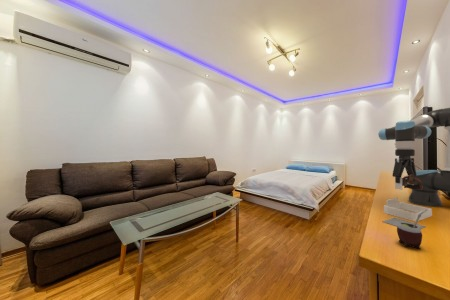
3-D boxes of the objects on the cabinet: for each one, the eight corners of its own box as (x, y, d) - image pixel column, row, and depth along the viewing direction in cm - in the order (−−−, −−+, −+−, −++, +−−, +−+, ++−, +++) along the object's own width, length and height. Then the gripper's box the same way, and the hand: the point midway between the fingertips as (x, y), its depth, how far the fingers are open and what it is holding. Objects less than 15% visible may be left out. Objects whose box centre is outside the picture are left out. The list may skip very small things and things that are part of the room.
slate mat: (394, 218, 96) (394, 217, 96) (425, 227, 85) (425, 226, 85) (382, 221, 92) (382, 221, 92) (413, 231, 81) (413, 231, 81)
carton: (399, 208, 111) (399, 197, 111) (432, 216, 98) (432, 203, 98) (383, 212, 104) (383, 200, 104) (416, 221, 91) (415, 207, 91)
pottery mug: (393, 191, 98) (397, 182, 102) (416, 200, 92) (420, 189, 95) (401, 177, 91) (404, 168, 94) (427, 185, 85) (430, 175, 88)
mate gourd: (393, 242, 72) (393, 206, 72) (402, 238, 75) (402, 204, 75) (419, 252, 65) (418, 212, 65) (428, 247, 68) (428, 209, 68)
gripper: (407, 149, 104) (406, 185, 104) (384, 148, 95) (383, 188, 95) (425, 149, 97) (424, 187, 97) (401, 148, 88) (401, 191, 88)
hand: (404, 188), depth 96 cm, fingers closed on pottery mug, 11 cm apart
